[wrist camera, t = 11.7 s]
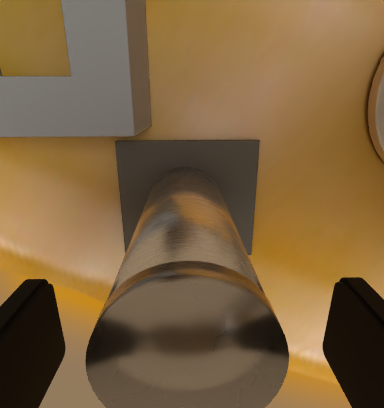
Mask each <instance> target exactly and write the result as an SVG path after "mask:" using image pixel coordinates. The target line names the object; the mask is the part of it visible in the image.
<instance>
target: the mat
mask: <svg viewBox="0 0 384 408" xmlns="http://www.w3.org/2000/svg"><path fill="white" fill-rule="evenodd" d="M259 143H260V140H168V141H115V145H116V156H117V166H118V177H119V188H120V199H121V209H122V220H123V231H124V242H125V252H127V250H128V247H129V245H130V242H131V239H132V237H133V234H134V232H135V229H136V227H137V224H138V222H139V219H140V217H141V214H142V212H143V209H144V207H145V204H146V202H147V199H148V197H149V194H150V192H151V189H152V187H153V185H154V184H155V182H156V181H157V180H158V178H159V177H160V176H162V175H163V174H164V173H166V172H168V171H170V170H172V169H175V168H179V167H191V168H196V169H199V170H201V171H203V172H205V173H207V174H208V175H209V176H210V177H212V179H213V180H214V181H215V182H216V184H217V185H218V187H219V190H220V192H221V194H222V196H223V199H224V201H225V203H226V206H227V208H228V210H229V213H230V215H231V217H232V220H233V222H234V224H235V227H236V229H237V231H238V233H239V236H240V238H241V240H242V243H243V245H244V247H245V250H246V252H247V254H248V255H251V251H252V237H253V224H254V210H255V197H256V183H257V170H258V157H259Z"/></svg>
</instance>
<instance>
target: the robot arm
mask: <svg viewBox="0 0 384 408" xmlns="http://www.w3.org/2000/svg"><path fill="white" fill-rule="evenodd" d="M368 124H369V131H370V136H371V139H372V141H373V144H374V147H375V149H376V151H377V153H378V154H379V156H380V157H381V159H382V160H383V162H384V56H383V58H382V59H381V62H380V64H379V67H378V69H377V72H376V74H375V76H374V79H373V83H372V87H371V91H370V95H369V103H368ZM323 352H324V355H325V358H326V359H327V361H328V363H329V365H330V367H331V369H332V371H333V373H334V375H335V376H336V378H337V380H338V382H339V384H340V386H341V388H342V390H343V392H344V393H345V395H346V397H347V399H348V401H349V403H350V405H351V406H352V408H384V300H383V299H382V297H381V296H380V295H379V294H378V293H377V292H376V291H375V290H374V289H373V288H372V287H371V286H370V285H369V284H368V283H367V282H366V281H365V280H364V279H362V278H359V277H356V278H341V279H340V281H339V282H337V283H336V284H335V286H334V291H333V296H332V301H331V306H330V311H329V316H328V321H327V326H326V331H325V336H324V341H323ZM64 354H65V342H64V337H63V332H62V327H61V322H60V318H59V313H58V308H57V303H56V298H55V293H54V288H53V285H52V284H48V281H47V280H45V279H28V280H25V281H24V282H23V283H22V284H21V285H20V286H19V287H18V288H17V289H16V291H14V293H13V294H12V295H11V296H10V297H9V298H8V299H7V300H6V301H5V302H4V303H3V304H2V305H1V306H0V408H38V407H39V406H40V403H41V402H42V400H43V398H44V396H45V393H46V392H47V390H48V388H49V386H50V384H51V381H52V380H53V378H54V376H55V374H56V372H57V370H58V368H59V366H60V364H61V362H62V360H63V357H64Z"/></svg>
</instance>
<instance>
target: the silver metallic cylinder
mask: <svg viewBox="0 0 384 408" xmlns="http://www.w3.org/2000/svg"><path fill="white" fill-rule="evenodd" d="M288 362H289V352H288V345H287V341H286V338H285V335H284V333H283V330H282V328H281V326H280V324H279V321H278V319H277V317H276V315H275V312H274V310H273V308H272V306H271V304H270V302H269V300H268V299H267V297H266V296H265V294H264V291H263V289H262V287H261V284H260V282H259V280H258V277H257V275H256V273H255V270H254V268H253V266H252V264H251V261H250V259H249V257H248V254H247V252H246V250H245V247H244V245H243V243H242V240H241V238H240V236H239V233H238V231H237V229H236V227H235V224H234V222H233V220H232V217H231V215H230V213H229V210H228V208H227V206H226V203H225V201H224V199H223V196H222V194H221V192H220V190H219V187H218V185H217V184H216V182H215V181H214V180H213V179H212V177H210V176H209V175H208V174H207V173H205V172H203V171H201V170H199V169H196V168H191V167H179V168H175V169H172V170H170V171H168V172H166V173H164V174H163V175H162V176H160V177H159V178H158V180H157V181H156V182H155V184H154V185H153V187H152V189H151V192H150V194H149V197H148V199H147V202H146V204H145V207H144V209H143V212H142V214H141V217H140V219H139V222H138V224H137V227H136V229H135V232H134V234H133V237H132V239H131V242H130V245H129V247H128V250H127V252H126V255H125V257H124V260H123V262H122V265H121V267H120V270H119V272H118V275H117V277H116V280H115V282H114V285H113V287H112V290H111V292H110V295H109V297H108V300H107V301H106V303H105V304H104V307H103V309H102V311H101V313H100V315H99V318H98V320H97V323H96V325H95V328H94V331H93V333H92V335H91V338H90V340H89V344H88V347H87V352H86V371H87V375H88V379H89V382H90V384H91V386H92V389H93V391H94V392H95V394H96V395H97V397H98V399H99V400H100V401H101V402H102V403H103V404H104V406H105V407H106V408H265V407H266V406H267V405H268V404H269V403H270V402H271V401H272V399H273V398H274V397H275V396H276V394H277V393H278V391H279V389H280V388H281V386H282V384H283V382H284V379H285V377H286V373H287V369H288Z"/></svg>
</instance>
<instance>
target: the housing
mask: <svg viewBox="0 0 384 408" xmlns="http://www.w3.org/2000/svg"><path fill="white" fill-rule="evenodd" d="M61 4H62V12H63V19H64V27H65V34H66V42H67V49H68V57H69V64H70V71H71V76H2V75H1V71H0V137H88V136H136V135H137V134H139V133H141V132H142V131H144V130H146V129H147V128H149V127H151V126H152V125H151V105H150V85H149V65H148V45H147V25H146V5H145V0H61Z"/></svg>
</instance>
